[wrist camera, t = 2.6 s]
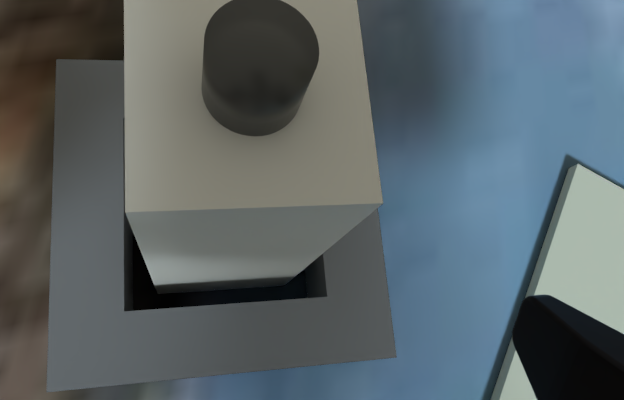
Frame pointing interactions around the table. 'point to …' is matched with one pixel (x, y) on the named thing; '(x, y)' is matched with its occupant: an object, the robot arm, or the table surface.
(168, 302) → the table surface
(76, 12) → the table surface
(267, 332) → the socket collar
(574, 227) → the rubber mat
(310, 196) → the plug
